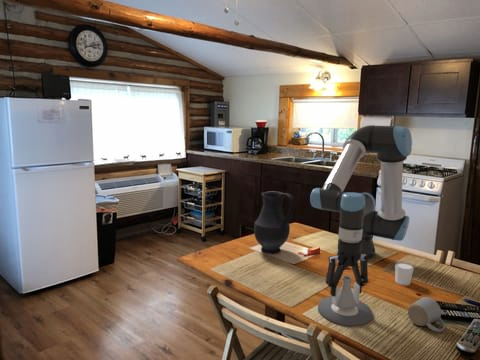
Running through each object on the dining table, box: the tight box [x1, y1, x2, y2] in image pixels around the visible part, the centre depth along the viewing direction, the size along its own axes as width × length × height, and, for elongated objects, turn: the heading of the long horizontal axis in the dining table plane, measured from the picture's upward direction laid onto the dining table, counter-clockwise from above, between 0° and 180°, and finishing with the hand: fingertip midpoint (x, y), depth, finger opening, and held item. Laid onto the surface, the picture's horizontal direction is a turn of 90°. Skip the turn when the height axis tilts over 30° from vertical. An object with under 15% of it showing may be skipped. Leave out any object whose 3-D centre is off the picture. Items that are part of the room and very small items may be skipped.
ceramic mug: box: [407, 296, 446, 333], centre depth 122 cm, size 11×8×8 cm
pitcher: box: [253, 190, 296, 255], centre depth 181 cm, size 17×21×30 cm
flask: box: [337, 275, 356, 309], centre depth 128 cm, size 7×7×10 cm
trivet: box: [317, 295, 373, 327], centre depth 129 cm, size 18×18×1 cm
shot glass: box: [394, 262, 414, 286], centre depth 152 cm, size 7×7×7 cm
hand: (345, 303), depth 129 cm, fingers closed on flask, 7 cm apart
